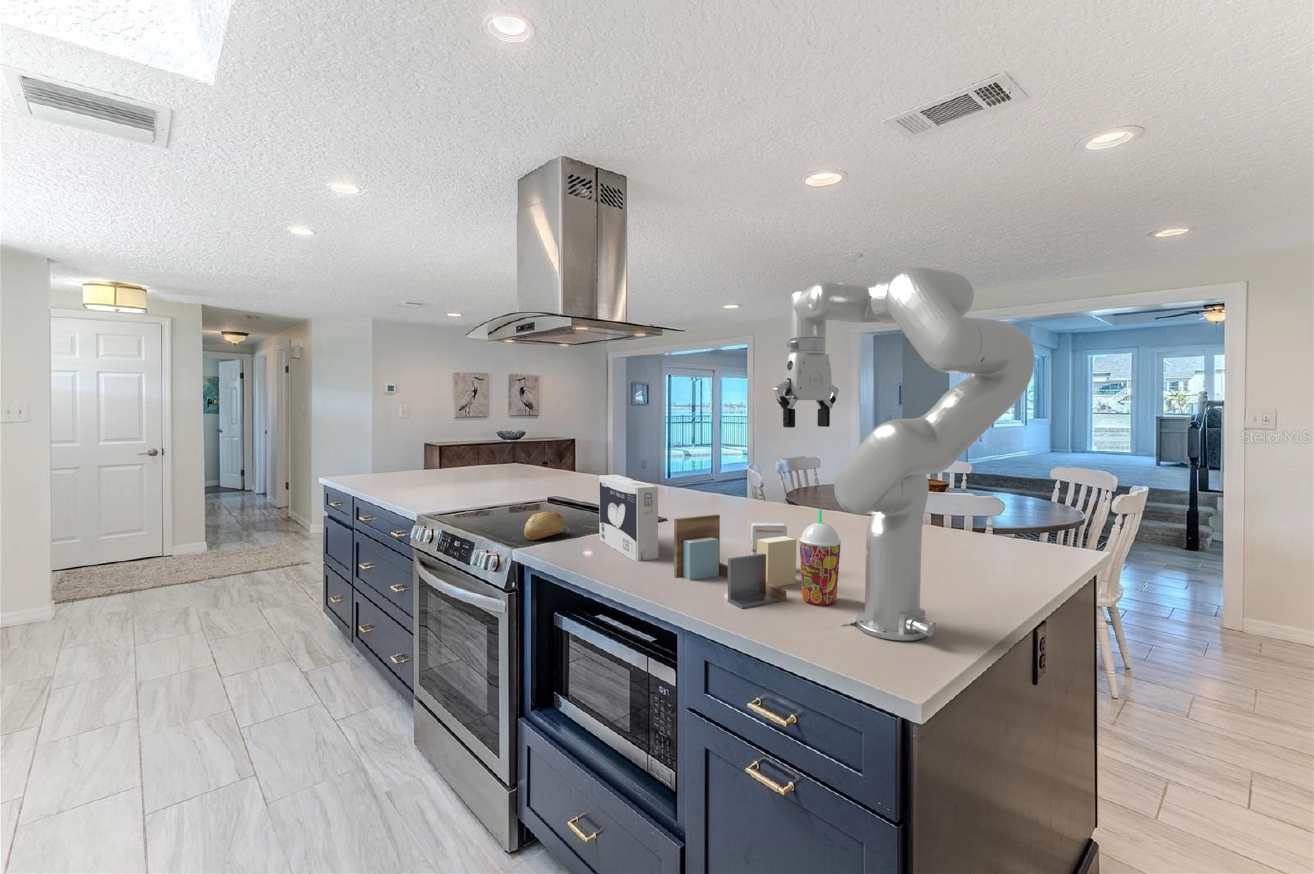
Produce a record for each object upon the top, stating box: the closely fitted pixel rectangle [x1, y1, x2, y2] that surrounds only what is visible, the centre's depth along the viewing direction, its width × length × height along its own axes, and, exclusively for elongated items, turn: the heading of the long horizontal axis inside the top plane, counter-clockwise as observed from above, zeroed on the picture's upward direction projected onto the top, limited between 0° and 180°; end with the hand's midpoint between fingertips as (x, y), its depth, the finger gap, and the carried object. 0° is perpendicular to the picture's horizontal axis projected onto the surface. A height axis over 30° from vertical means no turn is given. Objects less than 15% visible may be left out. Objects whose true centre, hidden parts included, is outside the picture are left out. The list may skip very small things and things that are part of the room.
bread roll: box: [523, 511, 565, 541], centre depth 188 cm, size 10×15×8 cm, turn 146°
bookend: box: [727, 554, 779, 610], centre depth 122 cm, size 5×9×9 cm, turn 117°
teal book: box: [682, 537, 720, 581], centre depth 141 cm, size 3×8×9 cm, turn 117°
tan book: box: [757, 535, 797, 587], centre depth 135 cm, size 4×8×11 cm, turn 117°
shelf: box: [673, 514, 787, 602], centre depth 132 cm, size 27×12×15 cm, turn 27°
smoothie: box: [798, 509, 842, 607], centre depth 123 cm, size 8×8×20 cm
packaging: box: [598, 474, 659, 563], centre depth 170 cm, size 30×6×20 cm, turn 25°
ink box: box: [750, 522, 788, 555], centre depth 149 cm, size 9×5×12 cm, turn 84°
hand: (806, 426), depth 129 cm, fingers open, 9 cm apart
